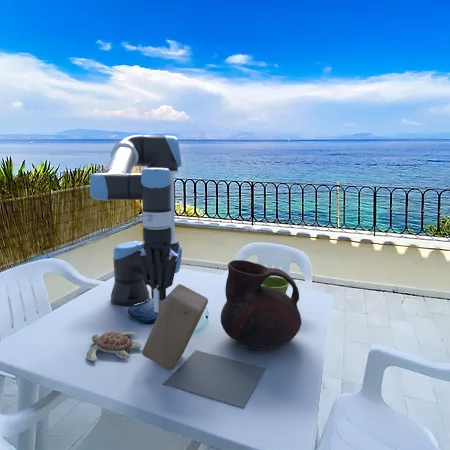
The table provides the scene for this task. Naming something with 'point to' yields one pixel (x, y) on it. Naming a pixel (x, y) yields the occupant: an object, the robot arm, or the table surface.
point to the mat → (217, 378)
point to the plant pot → (276, 283)
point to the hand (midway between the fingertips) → (159, 310)
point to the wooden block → (174, 326)
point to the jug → (259, 307)
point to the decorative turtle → (112, 344)
